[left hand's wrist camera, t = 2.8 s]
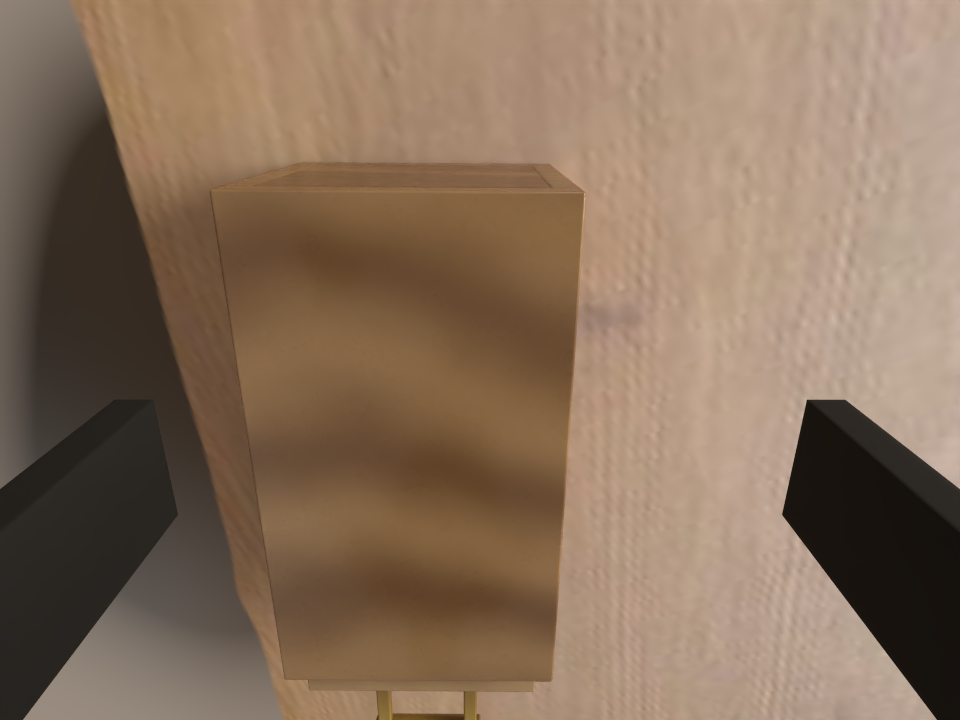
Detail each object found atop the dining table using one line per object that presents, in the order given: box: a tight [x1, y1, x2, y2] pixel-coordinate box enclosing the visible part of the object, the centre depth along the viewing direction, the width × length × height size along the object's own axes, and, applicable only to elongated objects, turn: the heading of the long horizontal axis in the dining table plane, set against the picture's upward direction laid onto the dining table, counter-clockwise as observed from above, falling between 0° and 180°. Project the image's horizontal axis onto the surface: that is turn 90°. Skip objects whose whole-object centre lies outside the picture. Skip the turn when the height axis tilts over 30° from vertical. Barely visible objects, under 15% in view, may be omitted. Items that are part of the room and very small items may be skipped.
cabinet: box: [210, 162, 586, 681], centre depth 26 cm, size 19×11×10 cm, turn 0°
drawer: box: [308, 680, 535, 720], centre depth 28 cm, size 24×10×8 cm, turn 0°
